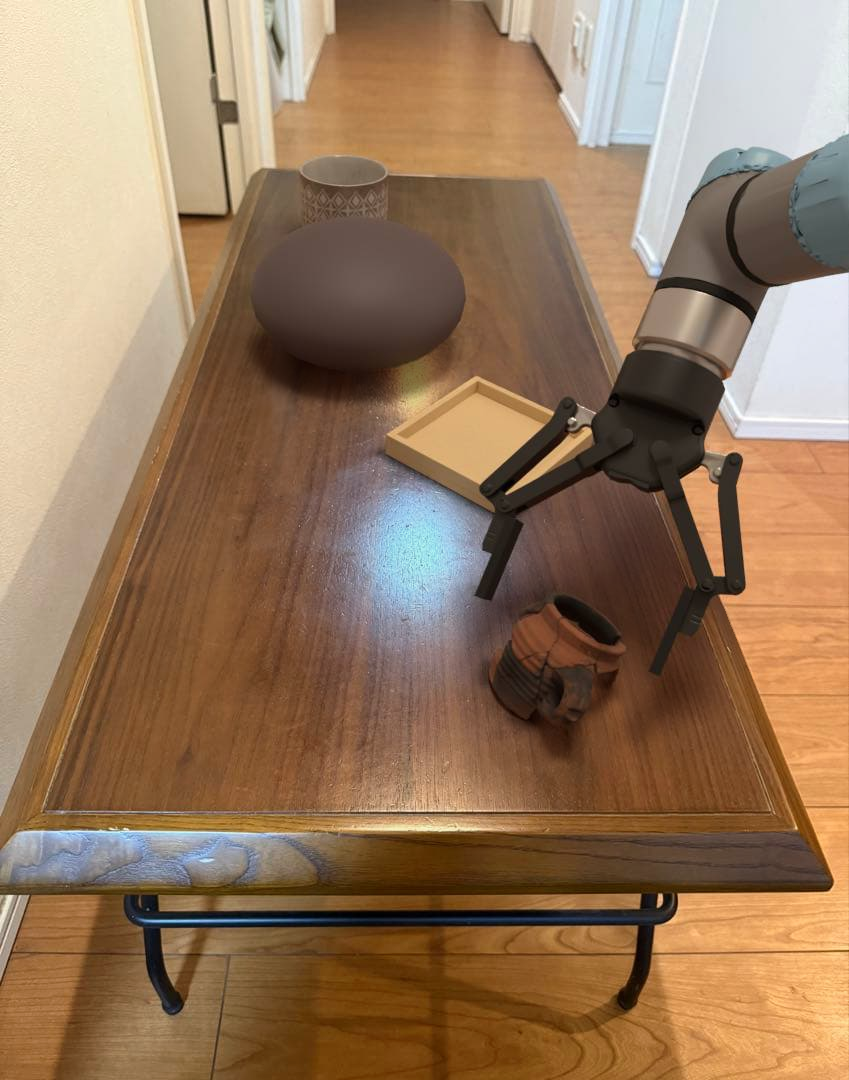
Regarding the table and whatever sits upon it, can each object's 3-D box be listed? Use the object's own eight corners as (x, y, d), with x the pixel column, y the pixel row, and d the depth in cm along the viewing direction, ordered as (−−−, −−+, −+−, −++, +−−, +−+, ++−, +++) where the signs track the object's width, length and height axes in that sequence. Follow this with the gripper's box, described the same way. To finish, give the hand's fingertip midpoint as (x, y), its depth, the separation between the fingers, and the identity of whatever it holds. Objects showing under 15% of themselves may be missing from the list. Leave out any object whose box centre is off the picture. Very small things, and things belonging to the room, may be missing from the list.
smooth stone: (236, 316, 107) (223, 198, 97) (419, 292, 114) (424, 180, 104) (284, 422, 90) (274, 293, 80) (493, 386, 97) (508, 264, 87)
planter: (285, 235, 125) (281, 164, 118) (353, 217, 132) (353, 148, 125) (335, 266, 118) (333, 192, 111) (404, 245, 125) (406, 174, 118)
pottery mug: (472, 645, 69) (523, 567, 66) (565, 683, 72) (619, 609, 69) (497, 745, 58) (561, 657, 55) (606, 784, 61) (672, 703, 58)
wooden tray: (590, 449, 89) (594, 430, 88) (507, 520, 80) (510, 500, 78) (474, 394, 96) (476, 375, 94) (385, 453, 87) (385, 434, 85)
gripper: (845, 434, 60) (731, 703, 61) (531, 335, 68) (432, 573, 69) (865, 407, 53) (736, 712, 54) (512, 300, 61) (402, 566, 62)
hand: (565, 635), depth 61 cm, fingers open, 13 cm apart
